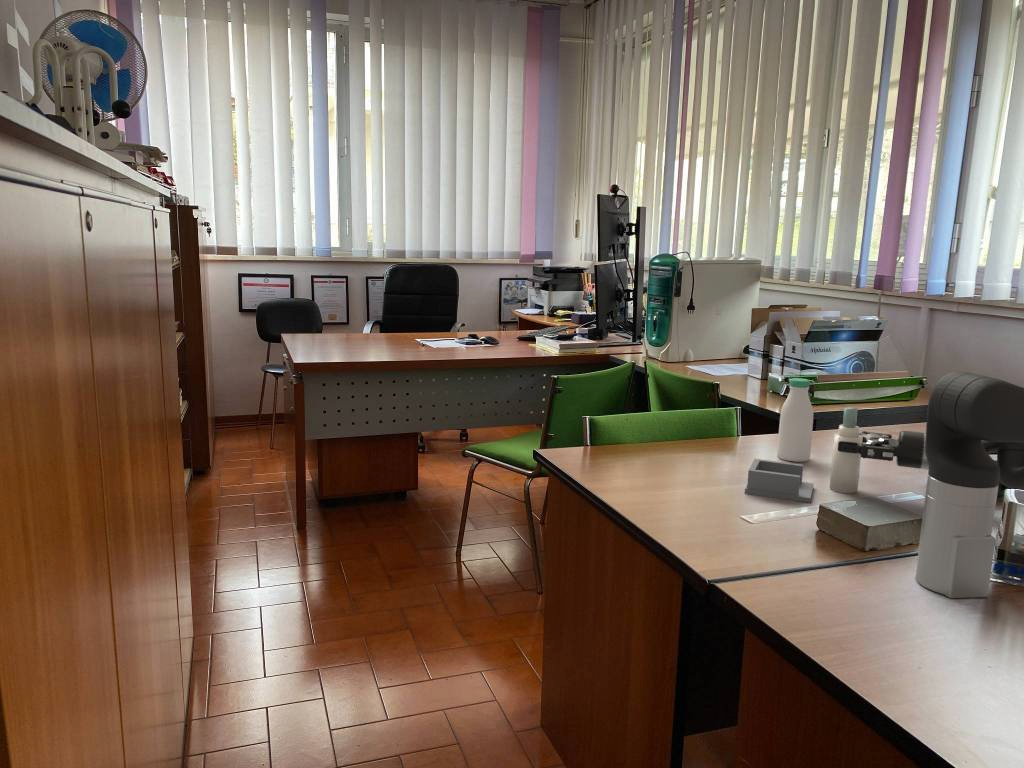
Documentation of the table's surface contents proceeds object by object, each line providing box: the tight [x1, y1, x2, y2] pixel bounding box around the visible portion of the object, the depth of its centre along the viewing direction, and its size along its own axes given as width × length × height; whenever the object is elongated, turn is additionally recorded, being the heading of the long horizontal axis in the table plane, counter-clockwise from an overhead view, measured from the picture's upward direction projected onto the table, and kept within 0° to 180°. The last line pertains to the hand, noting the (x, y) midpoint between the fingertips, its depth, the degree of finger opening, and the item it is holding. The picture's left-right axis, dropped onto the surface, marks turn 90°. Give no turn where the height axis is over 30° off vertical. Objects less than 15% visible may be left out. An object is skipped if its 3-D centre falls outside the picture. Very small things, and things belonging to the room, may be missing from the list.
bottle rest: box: [744, 458, 815, 504], centre depth 159 cm, size 11×13×5 cm
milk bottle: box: [776, 377, 814, 463], centre depth 183 cm, size 8×8×20 cm
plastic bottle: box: [829, 406, 863, 494], centre depth 160 cm, size 6×6×18 cm
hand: (838, 441), depth 160 cm, fingers open, 8 cm apart
